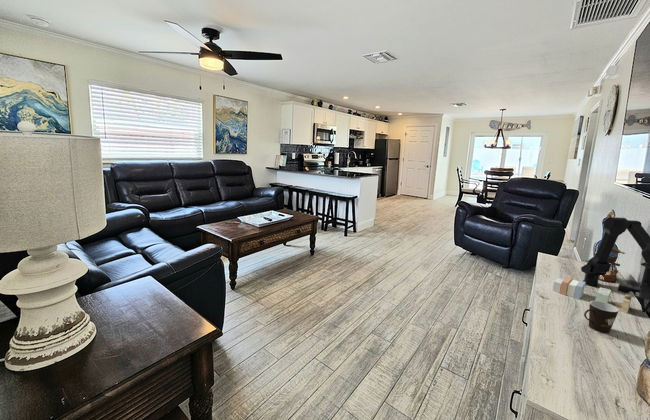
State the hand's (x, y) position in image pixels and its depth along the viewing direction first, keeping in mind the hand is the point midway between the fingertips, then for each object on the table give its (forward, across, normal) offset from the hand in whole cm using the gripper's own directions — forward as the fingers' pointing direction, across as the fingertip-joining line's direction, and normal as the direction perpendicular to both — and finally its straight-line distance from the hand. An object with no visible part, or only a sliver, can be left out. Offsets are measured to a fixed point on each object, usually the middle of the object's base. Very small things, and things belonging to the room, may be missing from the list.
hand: (643, 311), depth 131 cm
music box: (+2, -19, +39) cm, 43 cm away
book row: (+2, -27, 0) cm, 27 cm away
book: (+2, -14, 0) cm, 14 cm away
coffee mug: (+2, -12, -30) cm, 33 cm away
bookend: (+2, -7, 0) cm, 7 cm away
